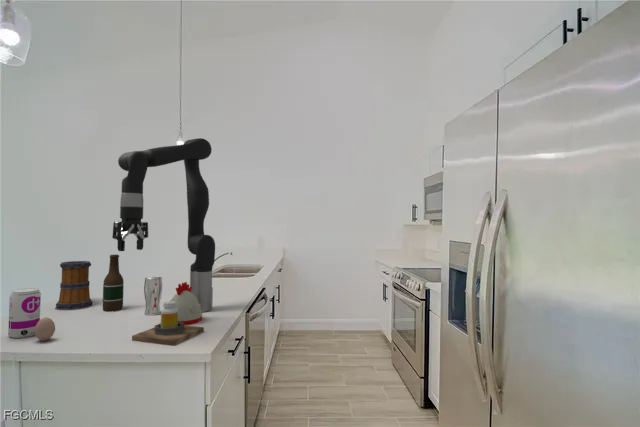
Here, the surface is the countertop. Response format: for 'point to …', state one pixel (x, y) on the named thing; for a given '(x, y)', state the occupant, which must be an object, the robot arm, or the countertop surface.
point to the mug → (74, 286)
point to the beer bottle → (113, 287)
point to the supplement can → (24, 312)
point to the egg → (44, 329)
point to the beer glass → (152, 295)
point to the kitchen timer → (187, 305)
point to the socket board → (167, 338)
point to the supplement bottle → (169, 315)
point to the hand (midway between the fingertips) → (130, 250)
